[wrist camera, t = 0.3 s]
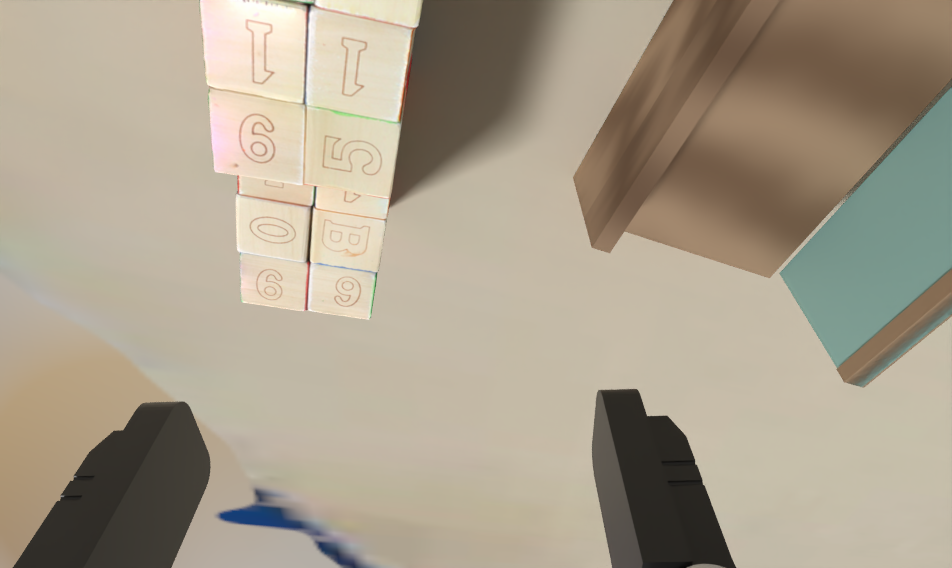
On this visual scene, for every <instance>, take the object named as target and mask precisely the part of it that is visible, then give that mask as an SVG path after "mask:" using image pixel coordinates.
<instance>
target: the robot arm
mask: <svg viewBox="0 0 952 568" xmlns="http://www.w3.org/2000/svg"><path fill="white" fill-rule="evenodd" d="M592 460H593V470H594V477H595V482H596V487H597V492H598V497H599V502H600V507H601V512H602V517H603V523H604V528H605V533H606V538H607V543H608V548H609V553H610V558H611V563H612V568H736V567H735V564H734V562H733V560H732V558H731V555H730V552H729V550H728V547H727V544H726V542H725V539H724V536H723V534H722V531H721V528H720V526H719V523H718V520H717V518H716V515H715V512H714V510H713V507H712V504H711V502H710V499H709V496H708V494H707V491H706V488H705V486H704V485H703V483H702V478H701V475H700V472H699V469H698V467H697V465H695V459H694V456H693V453H692V451H691V448H690V445H689V443H688V440H687V437H686V436H685V435H684V433H683V432H682V431H681V430H680V429H679V428H678V427H677V426H676V425H675V424H674V423H673V421H672V420H671V419H670V418H669V417H668V416H647V415H646V412H645V409H644V405H643V402H642V399H641V396H640V393H639V391H638V390H637V389H620V390H598V392H597V397H596V408H595V419H594V430H593V441H592ZM209 476H210V457H209V453H208V450H207V448H206V445H205V443H204V441H203V438H202V436H201V433H200V431H199V428H198V426H197V424H196V421H195V419H194V416H193V414H192V411H191V409H190V407H189V405H188V404H187V403H185V402H154V403H143V404H141V405H140V406H139V407H138V408H137V410H136V411H135V412H134V414H133V416H132V417H131V419H130V420H129V422H128V424H127V425H126V427H125V429H124V430H123V431H113V432H112V433H111V434H110V435H109V436H108V437H106V438H105V439H104V440H103V441H102V442H101V443H99V444H98V445H97V446H96V447H95V448H94V449H93V450H91V451H90V452H89V454H88V455H87V457H86V458H85V460H84V461H83V463H82V464H81V466H80V467H79V469H78V470H77V472H76V474H75V475H74V480H73V481H70V482H69V484H68V485H67V487H66V488H65V490H64V491H63V493H62V494H61V499H60V501H57V502H56V504H55V505H54V507H53V508H52V510H51V511H50V513H49V514H48V516H47V517H46V519H45V520H44V522H43V523H42V525H41V526H40V528H39V529H38V531H37V532H36V534H35V535H34V537H33V538H32V540H31V541H30V543H29V544H28V546H27V547H26V549H25V550H24V552H23V553H22V555H21V557H20V558H19V560H18V561H17V562H16V564H15V565H14V567H13V568H171V567H172V565H173V562H174V560H175V558H176V555H177V553H178V551H179V549H180V546H181V544H182V542H183V539H184V537H185V535H186V532H187V530H188V528H189V526H190V523H191V521H192V519H193V517H194V514H195V512H196V510H197V507H198V505H199V502H200V500H201V498H202V496H203V494H204V491H205V489H206V486H207V484H208V480H209Z"/></svg>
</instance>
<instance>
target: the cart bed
mask: <svg viewBox="0 0 952 568" xmlns="http://www.w3.org/2000/svg"><path fill="white" fill-rule="evenodd" d="M951 79H952V0H674V1H673V2H672V4H671V6H670V8H669V9H668V11H667V13H666V15H665V16H664V18H663V20H662V22H661V24H660V25H659V27H658V29H657V31H656V32H655V34H654V36H653V38H652V39H651V41H650V43H649V45H648V46H647V48H646V50H645V52H644V53H643V55H642V57H641V59H640V61H639V62H638V64H637V66H636V68H635V69H634V71H633V73H632V75H631V76H630V78H629V80H628V82H627V83H626V85H625V87H624V89H623V91H622V92H621V94H620V96H619V98H618V99H617V101H616V103H615V105H614V106H613V108H612V110H611V112H610V113H609V115H608V117H607V119H606V120H605V122H604V124H603V126H602V128H601V129H600V131H599V133H598V135H597V136H596V138H595V140H594V142H593V143H592V145H591V147H590V149H589V150H588V152H587V154H586V156H585V158H584V159H583V161H582V163H581V165H580V166H579V168H578V170H577V172H576V173H575V175H574V177H573V179H574V183H575V187H576V190H577V194H578V198H579V202H580V205H581V209H582V213H583V216H584V220H585V224H586V228H587V231H588V235H589V239H590V242H591V246H592V248H595V249H598V250H601V251H605V252H608V253H610V252H611V250H612V249H613V247H614V246H615V244H616V243H617V241H618V240H619V238H620V237H621V235H622V234H623V232H624V231H625V232H628V233H631V234H634V235H638V236H641V237H644V238H647V239H650V240H653V241H656V242H659V243H662V244H665V245H669V246H672V247H675V248H678V249H681V250H684V251H687V252H690V253H693V254H696V255H699V256H703V257H706V258H709V259H712V260H715V261H718V262H721V263H724V264H727V265H730V266H734V267H737V268H740V269H743V270H746V271H749V272H752V273H755V274H758V275H761V276H764V277H768V278H770V277H771V276H772V275H773V274H774V273H775V272H776V270H777V269H778V268H779V267H780V266H781V265H782V264H783V263H784V262H785V261H786V260H787V258H788V257H789V256H790V255H791V254H792V253H793V252H794V251H795V250H796V249H797V248H798V246H799V245H800V244H801V243H802V242H803V241H804V240H805V239H806V238H807V237H808V236H809V234H810V233H811V232H812V231H813V230H814V229H815V228H816V227H817V226H818V225H819V223H820V222H821V221H822V220H823V219H824V218H825V217H826V216H827V215H828V214H829V213H830V211H831V210H832V209H833V208H834V207H835V206H836V205H837V204H838V203H839V202H840V201H841V199H842V198H843V197H844V196H845V195H846V194H847V193H848V192H849V191H850V190H851V188H852V187H853V186H854V185H855V184H856V183H857V182H858V181H859V180H860V179H861V178H862V176H863V175H864V174H865V173H866V172H867V171H868V170H869V169H870V168H871V167H872V166H873V164H874V163H875V162H876V161H877V160H878V159H879V158H880V157H881V156H882V155H883V154H884V152H885V151H886V150H887V149H888V148H889V147H890V146H891V145H892V144H893V143H894V141H895V140H896V139H897V138H898V137H899V136H900V135H901V134H902V133H903V132H904V131H905V129H906V128H907V127H908V126H909V125H910V124H911V123H912V122H913V121H914V120H915V119H916V117H917V116H918V115H919V114H920V113H921V112H922V111H923V110H924V109H925V108H926V106H927V105H928V104H929V103H930V102H931V101H932V100H933V99H934V98H935V97H936V96H937V94H938V93H939V92H940V91H941V90H942V89H943V88H944V87H945V86H946V85H947V84H948V82H949V81H950V80H951Z"/></svg>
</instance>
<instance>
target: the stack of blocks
mask: <svg viewBox="0 0 952 568" xmlns="http://www.w3.org/2000/svg"><path fill="white" fill-rule="evenodd" d="M199 2H200V17H201V27H202V42H203V54H204V66H205V78H206V82H207V84H208V86H209V93H208V104H209V116H210V129H211V143H212V154H213V168H214V171H215V172H220V173H227V174H233V175H238V191H237V193H236V235H237V250H238V251H239V252H240V294H241V302H244V303H250V304H257V305H264V306H271V307H278V308H284V309H291V310H297V311H305V310H310V311H313V312H319V313H326V314H333V315H340V316H347V317H355V318H361V319H370V318H371V313H372V306H373V299H374V293H375V287H376V279H377V272H378V271H379V266H380V260H381V254H382V247H383V241H384V235H385V229H386V222H387V216H388V209H389V204H390V198H391V194H392V187H393V180H394V174H395V167H396V161H397V156H398V147H399V140H400V133H401V126H402V120H403V113H404V106H405V100H406V94H407V89H408V82H409V75H410V69H411V62H412V50H413V43H414V36H415V30H416V28H417V27H418V26H419V22H420V16H421V10H422V4H423V0H199Z"/></svg>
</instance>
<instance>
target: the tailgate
mask: <svg viewBox="0 0 952 568" xmlns="http://www.w3.org/2000/svg"><path fill="white" fill-rule="evenodd" d="M780 275H781V277H782V278H783V280H784V281H785V283H786V285H787V286H788V288H789V290H790V291H791V293H792V295H793V296H794V298H795V300H796V301H797V303H798V305H799V306H800V308H801V309H802V311H803V313H804V314H805V316H806V318H807V319H808V321H809V323H810V324H811V326H812V328H813V329H814V331H815V332H816V334H817V336H818V337H819V339H820V341H821V342H822V344H823V346H824V347H825V349H826V351H827V352H828V354H829V356H830V357H831V359H832V360H833V362H834V364H835V365H836V367H837V371H838V373H839V374H840V376H841V377H842V379H843V381H844V382H846V383H849V384H853V385H856V386H860V387H865V386H866V385H868V384H869V383H870V382H871V381H873V380H874V379H875V378H876V377H878V376H879V375H880V374H881V373H882V372H884V371H885V370H886V369H887V368H889V367H890V366H891V365H892V364H893V363H895V362H896V361H897V360H898V359H900V358H901V357H902V356H903V355H905V354H906V353H907V352H908V351H909V350H911V349H912V348H913V347H914V346H916V345H917V344H918V343H919V342H921V341H922V340H923V339H924V338H925V337H927V336H928V335H929V334H930V333H932V332H933V331H934V330H935V329H936V328H938V327H939V326H940V325H941V324H943V323H944V322H945V321H946V320H948V319H949V318H950V317H951V316H952V87H951V88H950V89H949V90H948V91H947V92H946V93H945V94H944V95H943V96H942V98H941V99H940V100H939V101H938V102H937V103H936V104H935V105H934V106H933V107H932V108H931V109H930V111H929V112H928V113H927V114H926V115H925V116H924V117H923V118H922V119H921V120H920V121H919V123H918V124H917V125H916V126H915V127H914V128H913V129H912V130H911V131H910V132H909V133H908V134H907V136H906V137H905V138H904V139H903V140H902V141H901V142H900V143H899V144H898V145H897V146H896V147H895V149H894V150H893V151H892V152H891V153H890V154H889V155H888V156H887V157H886V158H885V159H884V160H883V162H882V163H881V164H880V165H879V166H878V167H877V168H876V169H875V170H874V171H873V172H872V173H871V175H870V176H869V177H868V178H867V179H866V180H865V181H864V182H863V183H862V184H861V185H860V186H859V188H858V189H857V190H856V191H855V192H854V193H853V194H852V195H851V196H850V197H849V198H848V200H847V201H846V202H845V203H844V204H843V205H842V206H841V207H840V208H839V209H838V210H837V211H836V213H835V214H834V215H833V216H832V217H831V218H830V219H829V220H828V221H827V222H826V223H825V224H824V226H823V227H822V228H821V229H820V230H819V231H818V232H817V233H816V234H815V235H814V236H813V237H812V239H811V240H810V241H809V242H808V243H807V244H806V245H805V246H804V247H803V248H802V249H801V250H800V252H799V253H798V254H797V255H796V256H795V257H794V258H793V259H792V260H791V261H790V262H789V263H788V265H787V266H786V267H785V268H784V269H783V270H782V271H781V272H780Z"/></svg>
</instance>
